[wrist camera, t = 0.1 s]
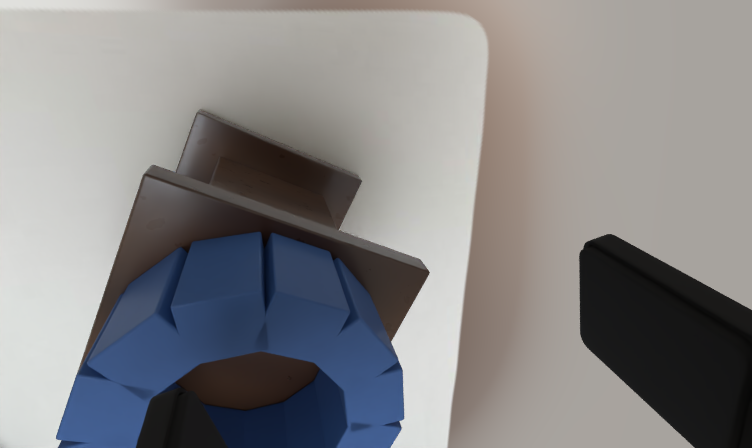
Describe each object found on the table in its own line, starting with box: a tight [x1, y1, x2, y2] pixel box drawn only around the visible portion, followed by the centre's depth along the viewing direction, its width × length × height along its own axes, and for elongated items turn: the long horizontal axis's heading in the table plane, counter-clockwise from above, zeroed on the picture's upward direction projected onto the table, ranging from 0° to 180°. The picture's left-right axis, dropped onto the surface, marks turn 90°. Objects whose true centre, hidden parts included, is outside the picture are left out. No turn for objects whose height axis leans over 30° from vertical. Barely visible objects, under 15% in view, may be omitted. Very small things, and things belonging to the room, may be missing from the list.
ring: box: [56, 232, 404, 448], centre depth 15 cm, size 10×10×4 cm
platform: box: [78, 110, 430, 411], centre depth 23 cm, size 11×11×14 cm
